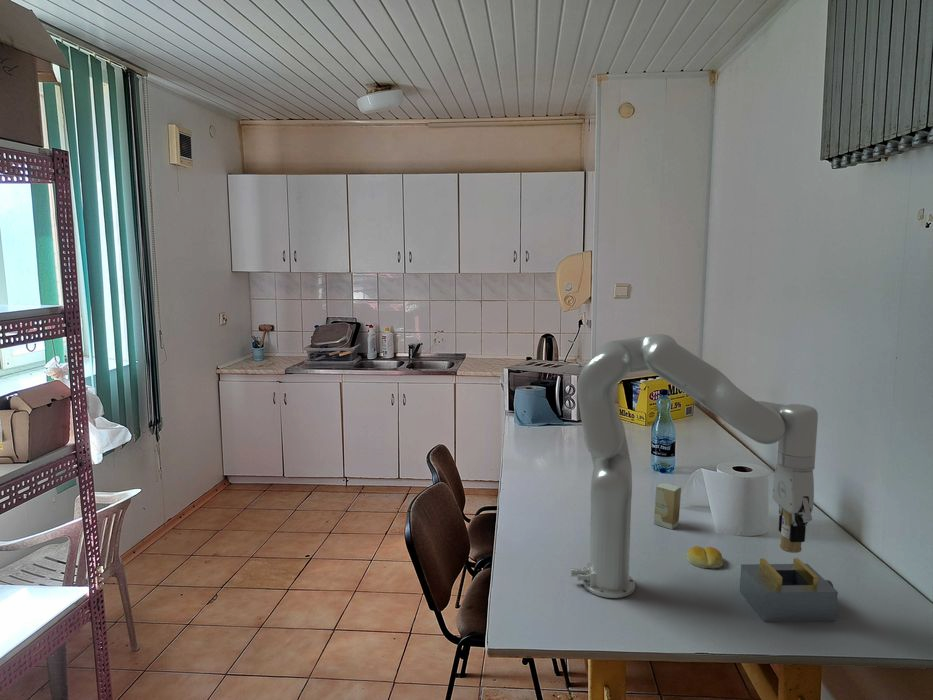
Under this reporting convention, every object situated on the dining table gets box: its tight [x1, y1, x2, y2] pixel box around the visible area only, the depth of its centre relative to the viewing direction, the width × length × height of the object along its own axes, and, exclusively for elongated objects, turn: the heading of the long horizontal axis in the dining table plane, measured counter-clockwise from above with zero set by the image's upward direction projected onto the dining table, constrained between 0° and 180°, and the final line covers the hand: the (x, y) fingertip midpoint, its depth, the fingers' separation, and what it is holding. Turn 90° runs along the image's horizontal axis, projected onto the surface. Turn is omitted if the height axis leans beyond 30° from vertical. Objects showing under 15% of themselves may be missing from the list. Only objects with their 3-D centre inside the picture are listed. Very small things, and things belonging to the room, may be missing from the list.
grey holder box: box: [739, 557, 839, 623], centre depth 152 cm, size 18×13×10 cm
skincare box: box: [653, 482, 682, 530], centre depth 196 cm, size 6×4×12 cm
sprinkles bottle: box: [779, 508, 802, 554], centre depth 149 cm, size 5×5×13 cm
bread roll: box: [686, 545, 724, 570], centre depth 174 cm, size 8×9×4 cm
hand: (791, 535), depth 150 cm, fingers closed on sprinkles bottle, 4 cm apart
